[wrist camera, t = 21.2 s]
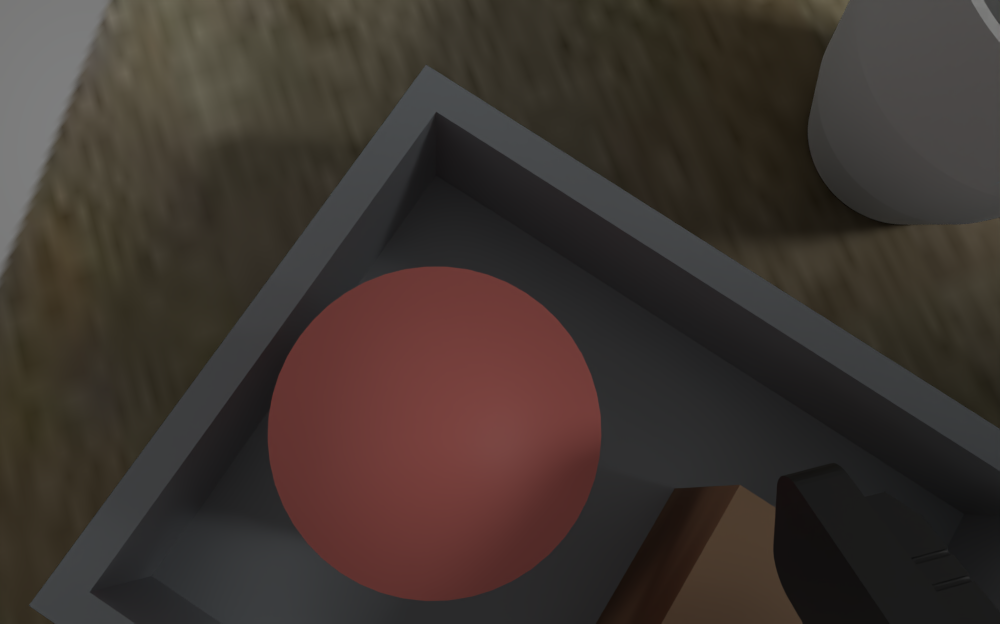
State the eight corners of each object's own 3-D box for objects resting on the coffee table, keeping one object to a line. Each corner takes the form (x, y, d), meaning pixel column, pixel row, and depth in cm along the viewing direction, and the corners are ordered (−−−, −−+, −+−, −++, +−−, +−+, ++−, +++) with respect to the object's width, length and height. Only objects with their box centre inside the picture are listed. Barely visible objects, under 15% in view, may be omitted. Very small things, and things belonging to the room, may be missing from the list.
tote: (427, 149, 25) (426, 64, 20) (982, 504, 24) (1119, 504, 19) (116, 582, 22) (28, 605, 18) (730, 1002, 22) (817, 1150, 17)
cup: (1072, 103, 27) (1436, -123, 17) (957, 333, 25) (1287, 227, 16) (833, -37, 27) (1054, -336, 18) (703, 181, 26) (869, -17, 16)
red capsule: (408, 317, 23) (391, 206, 14) (574, 426, 23) (661, 379, 14) (291, 486, 22) (198, 477, 13) (465, 602, 22) (485, 669, 13)
